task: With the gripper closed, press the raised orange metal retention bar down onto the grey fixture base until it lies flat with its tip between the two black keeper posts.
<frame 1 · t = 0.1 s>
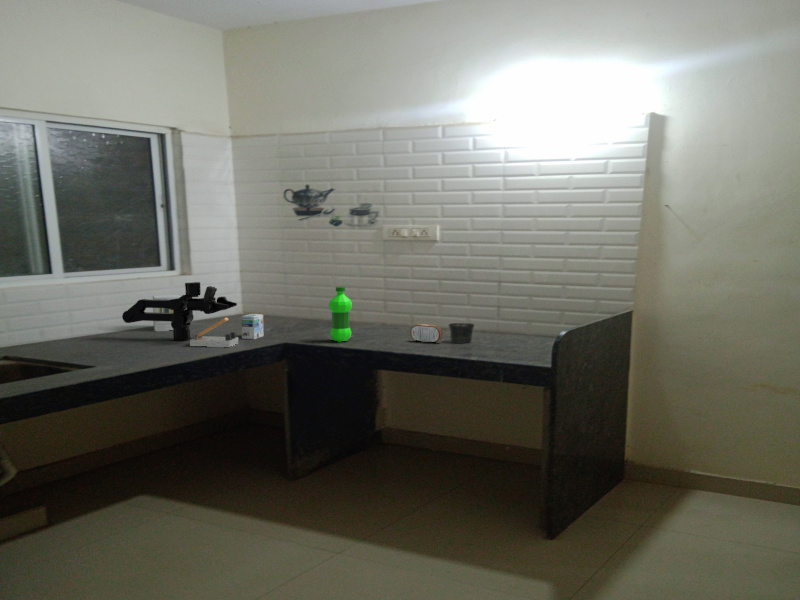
hand: (232, 305, 289), 17 cm above the countertop, tool horizontal, fingers open, 9 cm apart
light bulb box: (252, 337, 302), on the countertop
tin: (425, 343, 289), on the countertop
supplement box: (167, 329, 328), on the countertop
grey fixture base: (214, 345, 280), on the countertop
retention bar: (211, 327, 280), point 8 cm above the countertop, hinge at 30.0°
plastic bottle: (340, 341, 291), on the countertop
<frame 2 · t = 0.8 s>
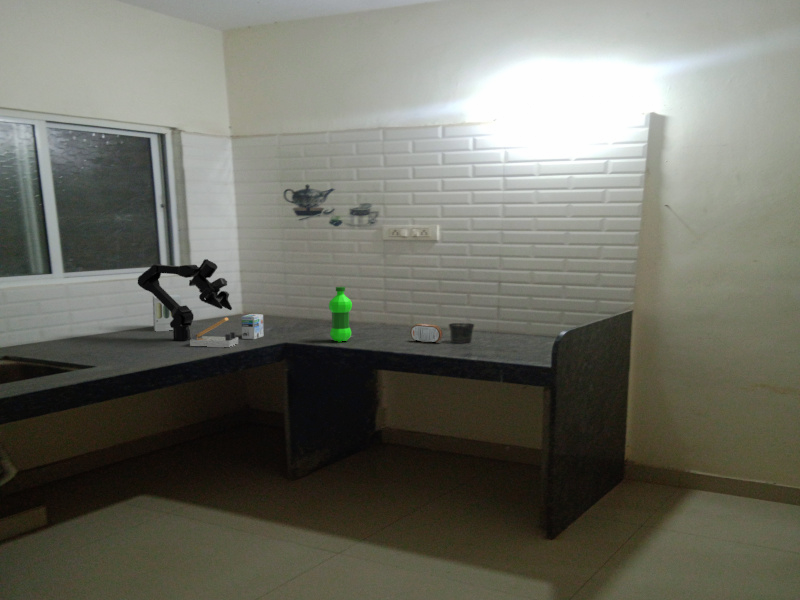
hand: (226, 308, 284), 16 cm above the countertop, tool tilted 50°, fingers open, 9 cm apart
nothing on the countertop moved.
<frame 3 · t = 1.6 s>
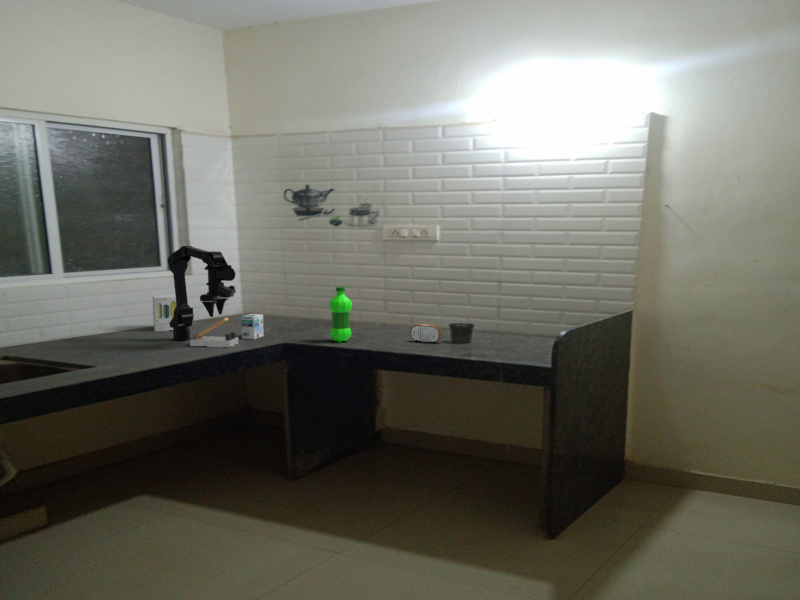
hand: (216, 315, 279), 13 cm above the countertop, tool pointing down, fingers open, 9 cm apart
nothing on the countertop moved.
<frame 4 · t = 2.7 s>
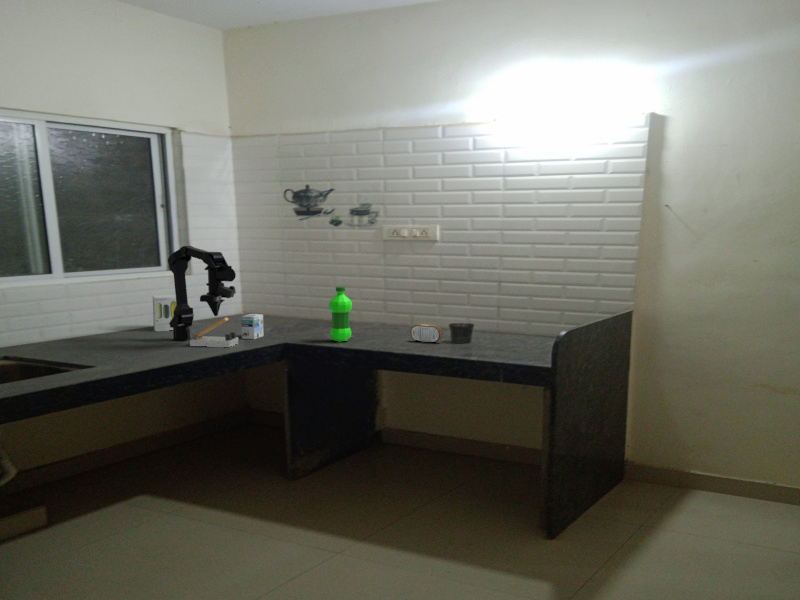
hand: (215, 316, 279), 13 cm above the countertop, tool pointing down, fingers closed
nothing on the countertop moved.
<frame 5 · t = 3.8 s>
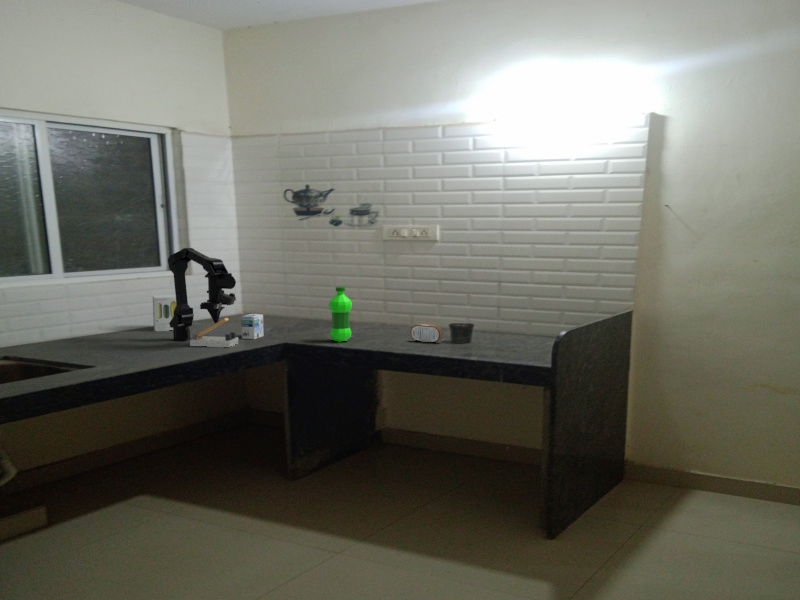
hand: (216, 323, 279), 10 cm above the countertop, tool pointing down, fingers closed, pressing on retention bar
retention bar: (211, 327, 280), point 8 cm above the countertop, hinge at 29.7°, touching gripper
everything else where it was.
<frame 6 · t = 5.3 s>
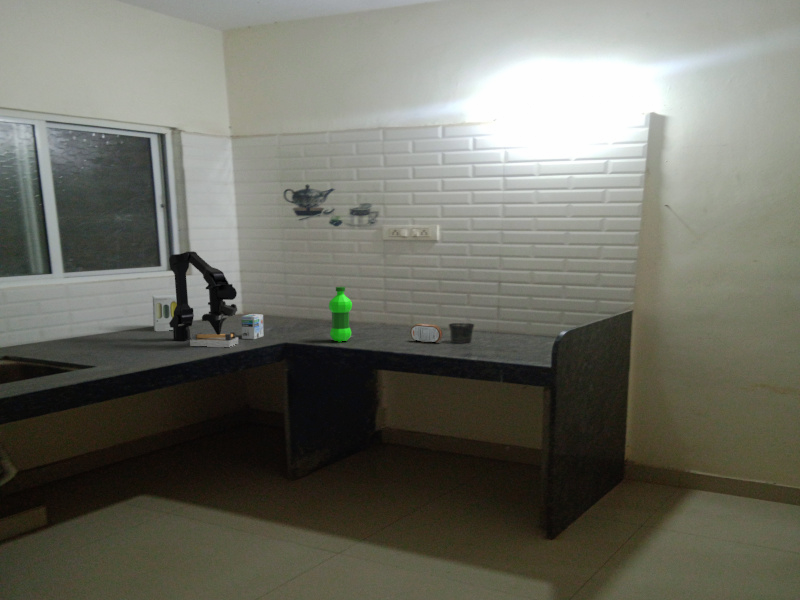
hand: (218, 334, 279), 5 cm above the countertop, tool pointing down, fingers closed, pressing on retention bar
retention bar: (214, 335, 280), point 4 cm above the countertop, hinge at 2.3°, touching gripper
everything else where it was.
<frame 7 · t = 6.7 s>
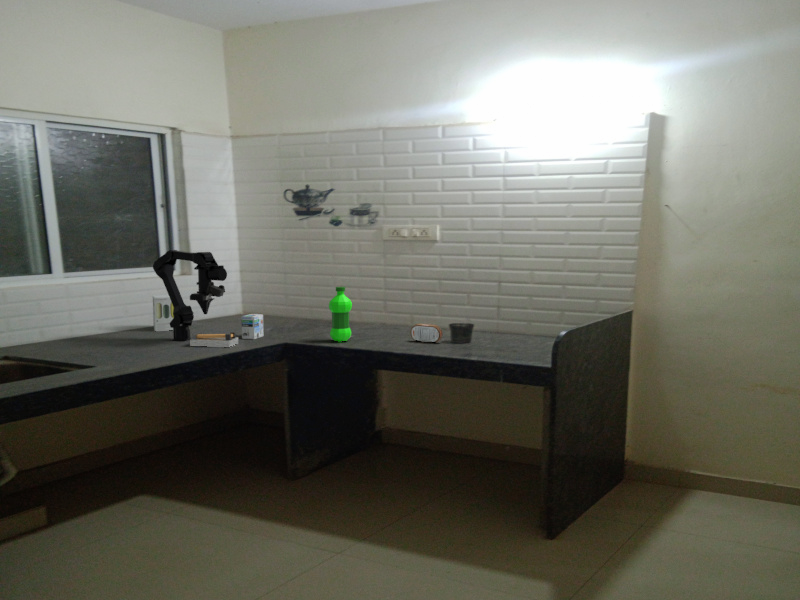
hand: (205, 314, 287), 13 cm above the countertop, tool pointing down, fingers closed
retention bar: (214, 335, 280), point 4 cm above the countertop, hinge at 2.1°
everything else where it was.
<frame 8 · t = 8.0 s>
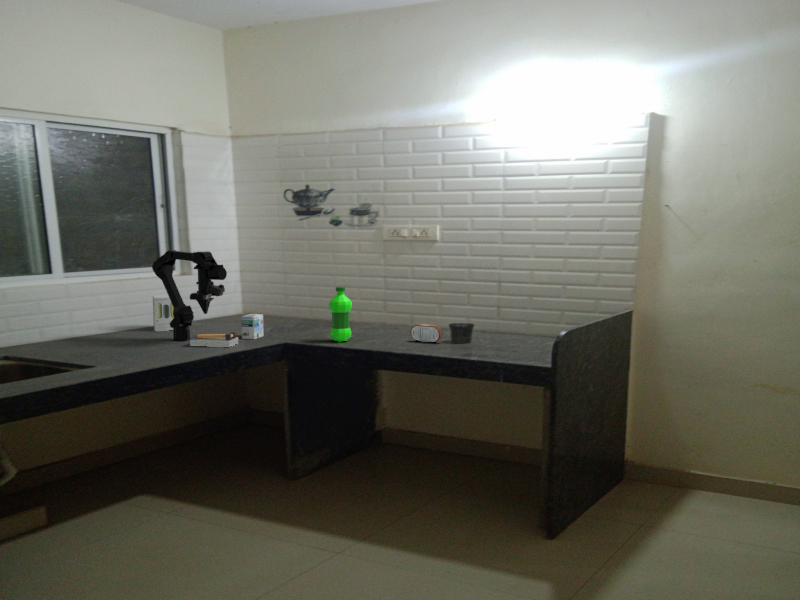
hand: (205, 313, 287), 13 cm above the countertop, tool pointing down, fingers closed
nothing on the countertop moved.
at the end: retention bar at +2° (first picture: +30°); light bulb box moved 0.3 cm from its start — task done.
